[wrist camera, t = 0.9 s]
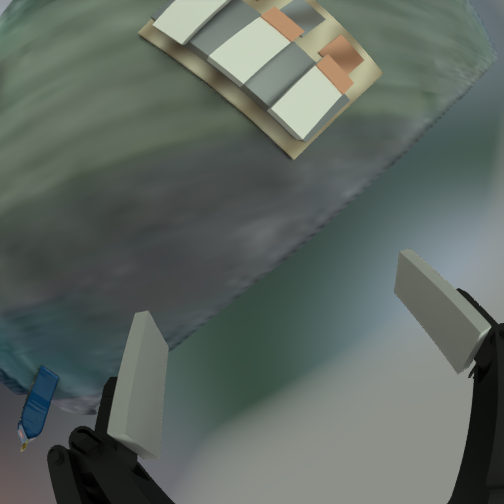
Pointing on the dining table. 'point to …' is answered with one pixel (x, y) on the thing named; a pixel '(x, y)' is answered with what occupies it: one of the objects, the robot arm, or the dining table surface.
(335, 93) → the switch
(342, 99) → the switch housing
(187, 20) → the switch
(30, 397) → the blue food package
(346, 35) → the switch board
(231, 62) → the switch middle
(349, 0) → the dining table surface
